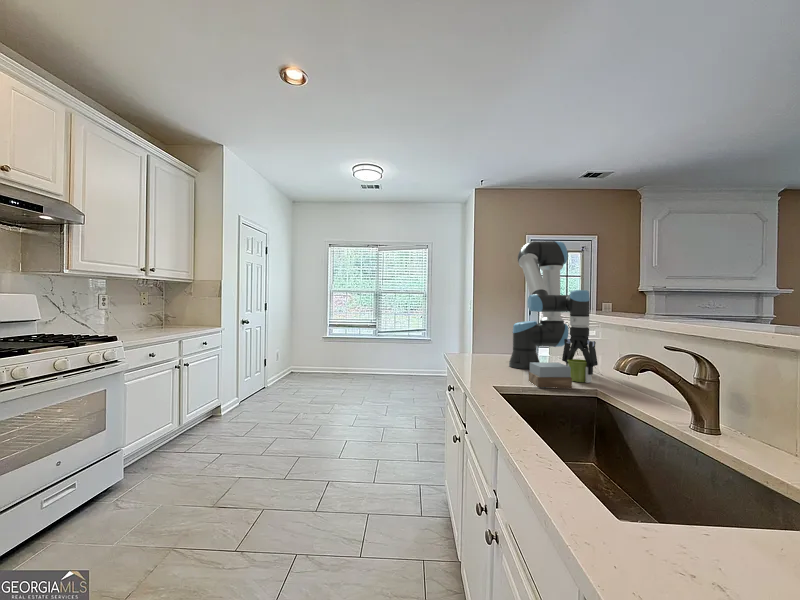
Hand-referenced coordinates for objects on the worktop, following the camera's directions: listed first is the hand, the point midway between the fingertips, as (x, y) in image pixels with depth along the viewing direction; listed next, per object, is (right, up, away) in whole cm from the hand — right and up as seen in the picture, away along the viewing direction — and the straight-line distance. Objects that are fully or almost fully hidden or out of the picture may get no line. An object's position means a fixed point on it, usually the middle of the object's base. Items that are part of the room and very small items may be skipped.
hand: (579, 380), depth 175 cm
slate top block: (-15, +4, -7) cm, 17 cm away
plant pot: (0, -1, 0) cm, 1 cm away
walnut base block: (-15, -1, -7) cm, 17 cm away
